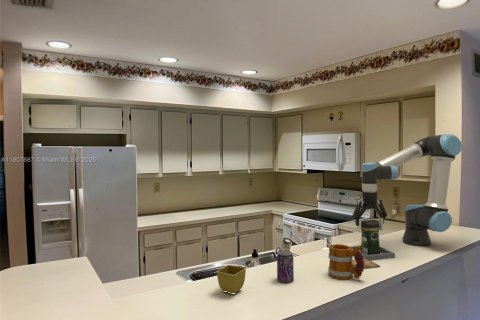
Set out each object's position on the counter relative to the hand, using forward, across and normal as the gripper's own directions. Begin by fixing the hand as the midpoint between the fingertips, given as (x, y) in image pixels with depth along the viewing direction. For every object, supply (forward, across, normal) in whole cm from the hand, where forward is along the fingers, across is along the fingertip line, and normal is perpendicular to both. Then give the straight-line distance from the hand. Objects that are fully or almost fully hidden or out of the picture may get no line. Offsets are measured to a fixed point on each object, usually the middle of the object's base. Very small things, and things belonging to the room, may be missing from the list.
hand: (370, 230), depth 172 cm
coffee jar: (+13, 0, 0) cm, 13 cm away
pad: (+13, +14, +12) cm, 22 cm away
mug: (+13, +30, +24) cm, 41 cm away
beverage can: (+13, +57, +20) cm, 62 cm away
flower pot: (+13, +82, +25) cm, 87 cm away
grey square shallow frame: (+13, 0, 0) cm, 13 cm away
